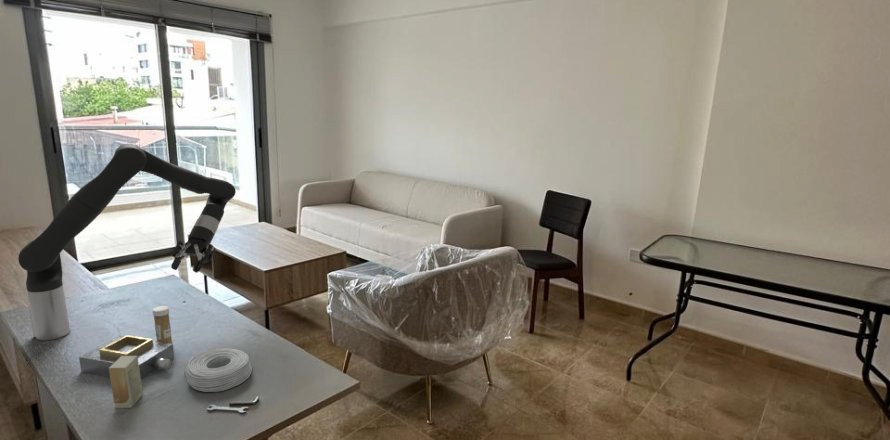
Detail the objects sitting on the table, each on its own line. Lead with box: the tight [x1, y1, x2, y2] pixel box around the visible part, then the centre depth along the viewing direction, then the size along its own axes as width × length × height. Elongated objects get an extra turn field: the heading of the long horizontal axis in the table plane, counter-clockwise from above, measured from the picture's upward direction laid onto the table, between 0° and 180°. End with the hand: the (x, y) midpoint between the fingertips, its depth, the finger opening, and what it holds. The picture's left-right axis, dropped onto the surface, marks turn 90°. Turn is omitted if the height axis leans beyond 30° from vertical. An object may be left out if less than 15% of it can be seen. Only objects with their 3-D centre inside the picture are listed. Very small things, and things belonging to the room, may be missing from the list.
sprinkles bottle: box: [152, 305, 174, 345], centre depth 157 cm, size 5×5×14 cm
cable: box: [183, 347, 253, 393], centre depth 141 cm, size 18×18×6 cm
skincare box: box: [109, 356, 144, 409], centre depth 128 cm, size 6×4×12 cm
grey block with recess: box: [78, 334, 175, 381], centre depth 145 cm, size 24×14×7 cm, turn 78°
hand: (184, 270), depth 164 cm, fingers open, 8 cm apart
